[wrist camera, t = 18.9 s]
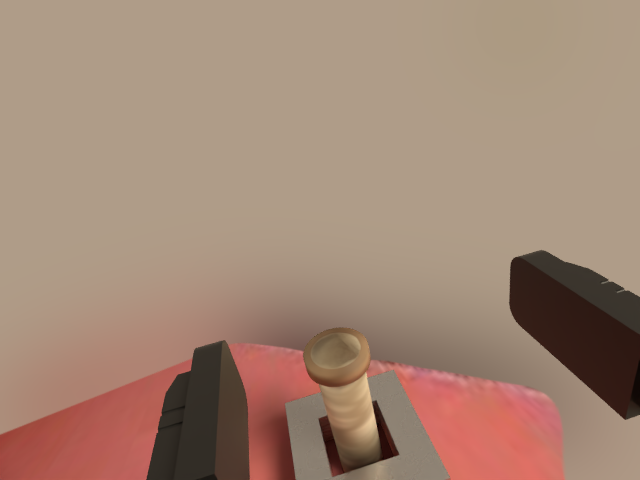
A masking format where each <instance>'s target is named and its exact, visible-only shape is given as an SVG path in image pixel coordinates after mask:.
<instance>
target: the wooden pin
mask: <svg viewBox="0 0 640 480" xmlns="http://www.w3.org/2000/svg"><path fill="white" fill-rule="evenodd" d="M303 358H304V362H305V365H306V369H307V372H308V374H309V376H310V378H311V379H312V380H313V381H315V382H316V383H318V384H319V387H320V390H321V394H322V398H323V401H324V405H325V408H326V412H327V415H328V419H329V422H330V426H331V429H332V433H333V436H334V440H335V444H336V447H337V451H338V454H339V458H340V461H341V465H342V468H343V471H344V472H345V473H347V472H350V471H353V470H356V469H359V468H362V467H365V466H368V465H371V464H374V463H377V462H380V461H383V454H382V449H381V445H380V440H379V435H378V430H377V425H376V420H375V415H374V410H373V405H372V400H371V395H370V390H369V385H368V380H367V375H366V371H367V370H368V368H369V365H370V361H371V359H370V352H369V348H368V342H367V340H366V338H365V337H364V336H363V335H362V334H361V333H360V332H358V331H356V330H353V329H350V328H333V329H329V330H326V331H323V332H321V333H320V334H317V335H316V336H314V337H313V338H312V339H311V340H310V341H309V343H308V344H307V345H306V347H305V349H304V353H303Z"/></svg>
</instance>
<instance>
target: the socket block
mask: <svg viewBox="0 0 640 480" xmlns="http://www.w3.org/2000/svg"><path fill="white" fill-rule="evenodd" d="M367 380H368V385H369V390H370V395H371V400H372V405H373V410H374V415H375V420H376V425H378V424H381V426H382V428H383V430H384V433H385V435H386V438H387V440H388V443H389V445H390V448H391V450H392V453H393V455H394V457H392V458H389V459H386V460H383V461H380V462H377V463H374V464H371V465H368V466H365V467H362V468H359V469H356V470H353V471H350V472H347V473H344V474H341V475H338V476H335V477H333V474H332V470H331V465H330V461H329V457H328V453H327V448H326V444H325V441H328V440H331V439H334V436H333V433H332V429H331V426H330V422H329V419H328V415H327V412H326V408H325V405H324V401H323V398H322V394H321V392H320V393H317V394H314V395H310V396H307V397H304V398H301V399H297V400H294V401H291V402H288V403H285V407H286V414H287V421H288V428H289V435H290V442H291V449H292V456H293V463H294V470H295V477H296V480H451V479H450V476H449V474H448V472H447V470H446V469H445V467H444V465H443V463H442V461H441V459H440V457H439V455H438V453H437V451H436V450H435V448H434V446H433V444H432V442H431V440H430V438H429V436H428V434H427V432H426V430H425V429H424V427H423V425H422V423H421V421H420V419H419V417H418V415H417V413H416V411H415V410H414V408H413V406H412V404H411V402H410V400H409V398H408V396H407V394H406V392H405V390H404V389H403V387H402V385H401V383H400V381H399V379H398V377H397V375H396V373H395V371H394V370H391V371H388V372H385V373H382V374H378V375H375V376H372V377H369V378H367Z"/></svg>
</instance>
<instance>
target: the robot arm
mask: <svg viewBox="0 0 640 480" xmlns="http://www.w3.org/2000/svg"><path fill="white" fill-rule="evenodd" d="M510 268H511V269H510V302H509V304H510V309H511V312H512V315H513V317H514V319H515V320H516V322H517V323H518V324H519V325H520V326H521V327H522V328H523V329H524V330H525V331H527V332H528V333H529V334H530V335H531V336H532V337H533V338H534V339H536V340H537V341H538V342H539V343H540V344H541V345H542V346H544V348H545V349H547V350H548V351H549V352H550V353H551V354H552V355H553V356H554V357H556V358H557V359H558V360H559V361H560V362H561V363H562V364H563V365H565V366H566V367H567V368H568V369H569V370H570V371H571V372H572V373H574V375H576V376H577V377H578V378H579V379H580V380H582V381H583V382H584V383H585V384H586V385H587V386H588V387H589V388H590V389H591V390H592V391H593V392H595V393H596V394H597V395H598V396H599V397H600V398H601V399H602V400H604V401H605V402H606V403H607V404H608V405H609V406H610V407H611V408H612V409H614V410H615V411H616V412H617V413H618V414H619V415H620V416H622V417H623V418H624V419H625V420H626V419H629V418H632V417H635V416H637V415H640V297H639V296H637V295H635V294H633V293H632V292H630V291H625V290H624V288H623V287H621V286H619V285H617V284H615V283H614V282H609V281H608V279H606V278H605V277H603V276H601V275H599V274H598V273H596V272H594V271H592V270H590V269H588V268H584V267H581V266H578V265H575V264H571V263H568V262H564V261H562V260H560V259H559V258H557V257H555V256H553V255H552V254H550V253H548V252H546V251H542V250H540V251H536V252H533V253H529V254H526V255H523V256H519V257H515V258H514V259H513V260H512V262H511V267H510ZM161 413H162V416H161V417H160V421H159V426H158V433H157V435H156V439H155V444H154V448H153V452H152V457H151V461H150V466H149V470H148V475H147V479H146V480H250V475H249V441H248V407H247V399H246V393H245V389H244V385H243V382H242V380H241V377H240V375H239V372H238V370H237V367H236V364H235V362H234V359H233V357H232V354H231V352H230V349H229V347H228V344H227V343H226V341H225V340H223V341H219V342H216V343H213V344H209V345H205V346H202V347H198V348H196V349H195V350H194V354H193V360H192V366H191V371H189V372H186V373H182V374H179V375H177V377H176V378H175V380H174V381H173V383H172V385H171V386H170V388H169V389H168V391H167V392H166V395H165V399H164V403H163V408H162V412H161Z"/></svg>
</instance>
